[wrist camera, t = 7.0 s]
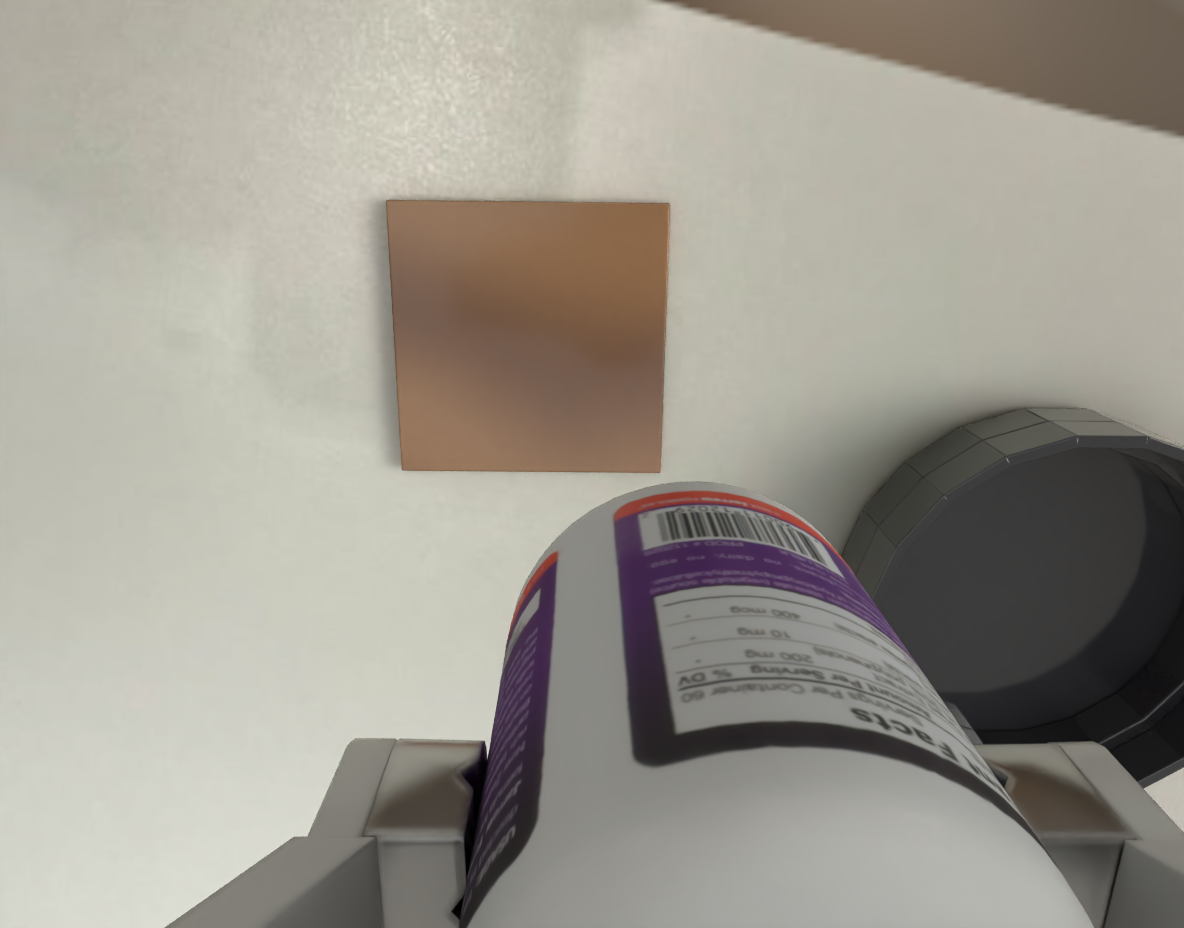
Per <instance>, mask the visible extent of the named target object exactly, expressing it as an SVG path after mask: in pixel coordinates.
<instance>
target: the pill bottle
mask: <svg viewBox="0 0 1184 928" xmlns="http://www.w3.org/2000/svg"><path fill="white" fill-rule="evenodd" d="M459 928H1094V926H1093V924H1092V922H1091V920H1090V918H1089V917H1088V915H1087V913H1086V912H1085V910H1084V908H1083V907H1082V905H1081V903H1080V902H1079V900H1078V899H1077V897H1076V896H1075V894H1074V892H1073V891H1072V889H1071V888H1070V886H1069V884H1068V883H1067V881H1066V880H1065V878H1064V876H1063V875H1062V873H1061V871H1060V870H1059V868H1058V867H1057V865H1056V864H1055V862H1054V861H1053V859H1052V858H1051V856H1050V855H1049V853H1048V852H1047V851H1046V849H1045V848H1044V846H1043V844H1042V843H1041V841H1040V840H1039V838H1038V837H1037V835H1036V834H1035V833H1034V831H1033V830H1032V828H1031V827H1030V825H1029V824H1028V822H1027V821H1026V819H1025V818H1024V817H1023V816H1022V815H1021V813H1020V812H1019V810H1018V809H1017V807H1016V806H1015V804H1014V803H1013V801H1012V800H1011V798H1010V797H1009V795H1008V794H1007V792H1006V791H1005V790H1004V788H1003V787H1002V785H1001V784H1000V783H999V781H998V780H997V779H996V777H995V776H994V774H993V773H992V771H991V770H990V768H989V767H988V765H987V764H986V762H985V761H984V760H983V758H982V757H981V756H980V754H979V753H978V752H977V750H976V749H975V747H974V746H973V744H972V743H971V741H970V740H969V738H968V737H967V735H966V734H965V733H964V731H963V730H962V728H961V727H960V726H959V724H958V723H957V721H956V719H955V718H954V716H953V715H952V714H951V712H950V711H949V710H948V708H947V707H946V705H945V704H944V702H943V701H942V699H941V698H940V696H939V695H938V694H937V692H936V691H935V689H934V688H933V686H932V685H931V684H930V682H929V681H928V679H927V678H926V676H925V675H924V673H923V672H922V670H921V669H920V667H919V666H918V664H917V663H916V662H915V660H914V659H913V658H912V656H911V655H910V654H909V652H908V651H907V649H906V648H905V646H904V645H903V643H902V642H901V640H900V639H899V637H898V636H897V635H896V633H895V632H894V630H893V629H892V627H891V626H890V625H889V623H888V622H887V620H886V619H885V618H884V616H883V615H882V613H881V612H880V610H879V609H878V608H877V606H876V605H875V603H874V602H873V601H872V599H871V598H870V596H869V595H868V594H867V592H866V591H865V589H864V588H863V587H862V585H861V584H860V582H859V581H858V579H857V578H856V576H855V575H854V573H853V572H852V570H851V569H850V567H849V566H848V565H847V563H846V562H845V561H844V560H843V559H842V557H841V556H840V555H839V554H838V553H837V551H836V550H835V549H834V548H833V546H832V545H831V544H830V543H829V542H828V541H827V540H826V538H825V537H824V536H823V535H822V534H821V533H820V532H819V531H818V530H817V529H816V528H814V527H813V526H812V525H811V524H810V523H809V522H807V521H806V520H805V519H803V518H802V517H801V516H799V515H798V514H797V513H795V512H794V511H792V510H790V509H789V508H787V507H785V506H784V505H782V504H780V503H778V502H776V501H774V500H772V499H770V498H768V497H765V496H763V495H760V494H758V493H755V492H752V491H749V490H746V489H742V488H738V487H734V486H730V485H725V484H718V483H710V482H677V483H666V484H661V485H655V486H651V487H647V488H643V489H640V490H636V491H633V492H630V493H627V494H624V495H622V496H619V497H616V498H614V499H612V500H610V501H608V502H606V503H604V504H602V505H600V506H598V507H596V508H594V509H593V510H591V511H590V512H588V513H587V514H585V515H584V516H582V517H581V518H579V519H578V520H577V521H575V522H574V523H572V524H571V525H570V526H569V527H568V528H567V529H566V530H565V531H564V532H563V533H562V534H561V535H559V536H558V537H557V538H556V540H555V541H554V542H553V543H552V544H551V545H550V546H549V547H548V549H547V550H546V551H545V552H544V554H543V555H542V556H541V558H540V559H539V560H538V562H537V563H536V565H535V567H534V568H533V570H532V571H531V573H530V574H529V576H528V578H527V580H526V582H525V584H524V586H523V588H522V591H521V593H520V596H519V598H518V601H517V604H516V608H515V612H514V615H513V619H512V622H511V626H510V631H509V635H508V639H507V644H506V651H505V657H504V663H503V669H502V676H501V681H500V688H499V695H498V701H497V707H496V712H495V718H494V724H493V730H492V736H491V743H490V749H489V754H488V759H487V766H486V771H485V777H484V782H483V788H482V794H481V800H480V805H479V811H478V816H477V822H476V829H475V836H474V842H473V847H472V850H471V856H470V865H469V871H468V877H467V882H466V888H465V893H464V898H463V904H462V910H461V916H460V923H459Z"/></svg>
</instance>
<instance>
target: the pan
mask: <svg viewBox="0 0 1184 928" xmlns="http://www.w3.org/2000/svg"><path fill="white" fill-rule="evenodd" d="M864 509H865V510H863V511H862V513H861V515H860V517H859V519H858V521H857V524H856V526H855V528H854V530H853V532H852V534H851V537H850V539H849V541H848V543H847V545H846V547H845V550H844V552H843V554H842V556H841V557H842V559H843V560H844V561H845V562H846V563H847V565H848V566H849V567H850V569H851V570H852V572H853V573H854V575H855V576H856V578H857V579H858V581H859V582H860V584H861V585H862V587H863V588H864V589H865V591H866V592H867V594H868V595H869V596H870V598H871V599H872V601H873V602H874V603H875V605H876V606H877V608H878V609H879V610H880V612H881V613H882V615H883V616H884V618H885V619H886V620H887V622H888V623H889V625H890V626H891V627H892V629H893V630H894V632H895V633H896V635H897V636H898V637H899V639H900V640H901V642H902V643H903V645H904V646H905V648H906V649H907V651H908V652H909V654H910V655H911V656H912V658H913V659H914V660H915V662H916V663H917V664H918V666H919V667H920V669H921V670H922V672H923V673H924V675H925V676H926V678H927V679H928V681H929V682H930V684H931V685H932V686H933V688H934V689H935V691H936V692H937V694H938V695H939V696H940V698H941V699H942V701H943V702H944V704H945V705H946V707H947V708H948V710H949V711H950V712H951V714H952V715H953V716H954V718H955V719H956V721H957V723H958V724H959V726H960V727H961V728H962V730H963V731H964V733H965V734H966V735H967V737H968V738H969V740H970V741H971V743H972V744H1048V743H1049V742H1085V741H1093V742H1095V743H1098V744H1100V745H1102V746H1104V747H1105V748H1106V749H1107V750H1108V751H1109V752H1110V753H1111V754H1112V755H1113V756H1114V757H1115V759H1116V760H1117V761H1118V762H1119V763H1120V764H1121V765H1122V766H1123V767H1124V768H1125V769H1126V771H1127V772H1128V773H1129V774H1130V775H1131V776H1132V777H1133V778H1134V779H1135V780H1136V781H1137V782H1138V784H1139V785H1140V786H1141V787H1142V788H1143V789H1144V788H1145V787H1147V786H1149V785H1151V784H1153V783H1155V782H1157V781H1159V780H1161V779H1163V778H1165V777H1166V776H1168V775H1170V774H1172V773H1174V772H1176V771H1178V770H1180V769H1182V768H1184V446H1183V445H1181V444H1179V443H1176V442H1174V441H1172V440H1169V439H1167V438H1165V437H1162V436H1160V435H1158V434H1156V433H1153V432H1151V431H1149V430H1146V429H1144V428H1142V427H1139V426H1136V425H1133V424H1130V423H1127V422H1124V421H1122V420H1119V419H1116V418H1113V417H1110V416H1107V415H1104V414H1101V413H1099V412H1096V411H1093V410H1088V409H1074V408H1024V409H1020V410H1017V411H1013V412H1010V413H1006V414H1003V415H999V416H996V417H993V418H989V419H986V420H982V421H979V422H975V423H972V424H969V425H965V426H962V428H961V427H960V428H958V429H956V430H955V431H953V432H951V433H950V434H948V435H947V436H945V437H943V438H942V439H940V440H939V441H937V442H935V443H934V444H932V445H931V446H929V447H928V448H926V449H924V450H923V451H921V452H920V453H918V454H916V455H915V456H913V457H912V458H910V459H908V460H907V461H906V463H904V464H903V465H902V466H901V467H900V468H899V469H898V470H897V471H896V473H895V474H894V475H893V476H892V477H891V478H890V479H889V480H888V482H887V483H886V484H885V485H884V486H883V487H882V488H881V489H880V490H879V492H878V493H877V494H876V495H875V496H874V497H873V498H872V499H871V501H870V502H869V503H868V504H867V505H866V506H865V508H864Z"/></svg>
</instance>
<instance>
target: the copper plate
mask: <svg viewBox="0 0 1184 928" xmlns="http://www.w3.org/2000/svg"><path fill="white" fill-rule="evenodd" d="M386 212H387V228H388V245H389V262H390V279H391V296H392V313H393V330H394V347H395V363H396V380H397V397H398V414H399V431H400V448H401V465H402V470H407V471H515V472H623V473H660V471H661V443H662V416H663V389H664V361H665V334H666V307H667V280H668V252H669V225H670V204H669V203H626V202H536V201H446V200H387V201H386Z"/></svg>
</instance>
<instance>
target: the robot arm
mask: <svg viewBox="0 0 1184 928" xmlns="http://www.w3.org/2000/svg"><path fill="white" fill-rule="evenodd" d="M973 746H974V747H975V749H976V750H977V752H978V753H979V754H980V756H981V757H982V758H983V760H984V761H985V762H986V764H987V765H988V767H989V768H990V770H991V771H992V773H993V774H994V776H995V777H996V779H997V780H998V781H999V783H1000V784H1001V785H1002V787H1003V788H1004V790H1005V791H1006V792H1007V794H1008V795H1009V797H1010V798H1011V800H1012V801H1013V803H1014V804H1015V806H1016V807H1017V809H1018V810H1019V812H1020V813H1021V815H1022V816H1023V817H1024V818H1025V819H1026V821H1027V822H1028V824H1029V825H1030V827H1031V828H1032V830H1033V831H1034V833H1035V834H1036V835H1037V837H1038V838H1039V840H1040V841H1041V843H1042V844H1043V846H1044V848H1045V849H1046V851H1047V852H1048V853H1049V855H1050V856H1051V858H1052V859H1053V861H1054V862H1055V864H1056V865H1057V867H1058V868H1059V870H1060V871H1061V873H1062V875H1063V876H1064V878H1065V880H1066V881H1067V883H1068V884H1069V886H1070V888H1071V889H1072V891H1073V892H1074V894H1075V896H1076V897H1077V899H1078V900H1079V902H1080V903H1081V905H1082V907H1083V908H1084V910H1085V912H1086V913H1087V915H1088V917H1089V918H1090V920H1091V922H1092V924H1093V926H1094V928H1184V832H1183V831H1182V830H1181V829H1180V828H1179V827H1178V826H1177V825H1176V824H1175V823H1174V822H1173V821H1172V819H1171V818H1170V817H1169V816H1168V815H1167V814H1166V813H1165V812H1164V811H1163V810H1162V809H1161V807H1160V806H1159V805H1158V804H1157V803H1156V802H1155V801H1154V800H1153V799H1152V798H1151V797H1150V796H1149V794H1148V793H1147V792H1146V791H1145V790H1144V789H1143V788H1142V787H1141V786H1140V785H1139V784H1138V782H1137V781H1136V780H1135V779H1134V778H1133V777H1132V776H1131V775H1130V774H1129V773H1128V772H1127V771H1126V769H1125V768H1124V767H1123V766H1122V765H1121V764H1120V763H1119V762H1118V761H1117V760H1116V759H1115V757H1114V756H1113V755H1112V754H1111V753H1110V752H1109V751H1108V750H1107V749H1106V748H1105V747H1104V746H1102V745H1100V744H1098V743H1095V742H1093V741H1085V742H1049V743H1048V744H973ZM486 766H487V751H486V745H485V741H470V740H432V739H399V740H396V739H392V738H355V739H354V740H353V741H351V742H350V743H349V744H348V745H347V747H346V749H345V752H344V754H343V756H342V759H341V761H340V763H339V765H338V768H337V770H336V772H335V775H334V777H333V779H332V781H331V784H330V786H329V788H328V791H327V793H326V795H325V797H324V800H323V802H322V804H321V807H320V809H319V811H318V813H317V816H316V818H315V820H314V823H313V825H312V827H311V829H310V832H309V834H308V836H307V837H293V838H292V839H290V840H289V841H287V842H286V843H284V844H283V845H282V846H280V847H279V848H277V849H276V850H275V851H273V852H272V853H270V854H269V855H267V856H266V857H265V858H263V859H262V860H260V861H259V862H257V863H256V864H255V865H253V866H252V867H250V868H249V869H247V870H246V871H245V872H243V873H242V874H240V875H239V876H238V877H236V878H235V879H233V880H232V881H230V882H229V883H228V884H226V885H225V886H223V887H222V888H220V889H219V890H218V891H216V892H215V893H213V894H212V895H210V896H209V897H208V898H206V899H205V900H203V901H202V902H201V903H199V904H198V905H196V906H195V907H193V908H192V909H191V910H189V911H188V912H186V913H185V914H183V915H182V916H181V917H179V918H178V919H176V920H175V921H173V922H172V923H171V924H169V925H168V926H166V927H165V928H459V923H460V916H461V910H462V904H463V898H464V893H465V888H466V882H467V877H468V871H469V865H470V856H471V850H472V847H473V842H474V836H475V829H476V822H477V816H478V811H479V805H480V800H481V794H482V788H483V782H484V777H485V771H486Z"/></svg>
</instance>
